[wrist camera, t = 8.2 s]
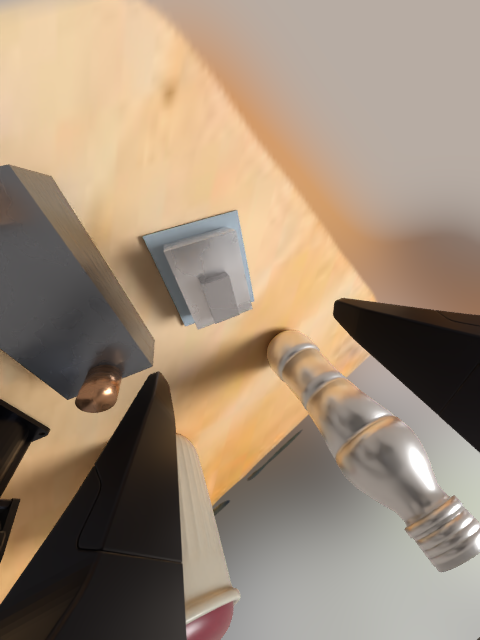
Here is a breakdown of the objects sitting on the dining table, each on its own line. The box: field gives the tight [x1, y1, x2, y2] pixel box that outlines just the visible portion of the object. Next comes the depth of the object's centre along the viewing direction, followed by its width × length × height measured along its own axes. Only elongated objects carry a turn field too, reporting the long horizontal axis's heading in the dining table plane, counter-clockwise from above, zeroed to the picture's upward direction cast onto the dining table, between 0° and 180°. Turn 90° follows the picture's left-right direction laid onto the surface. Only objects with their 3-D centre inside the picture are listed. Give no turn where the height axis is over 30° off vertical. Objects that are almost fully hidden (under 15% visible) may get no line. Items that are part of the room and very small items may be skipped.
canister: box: [176, 434, 241, 640], centre depth 20 cm, size 18×18×21 cm
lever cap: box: [164, 227, 252, 329], centre depth 16 cm, size 7×5×4 cm
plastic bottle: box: [267, 330, 480, 572], centre depth 19 cm, size 6×7×20 cm
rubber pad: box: [143, 210, 254, 326], centre depth 18 cm, size 9×8×1 cm
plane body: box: [0, 165, 155, 413], centre depth 12 cm, size 14×7×8 cm, turn 13°
